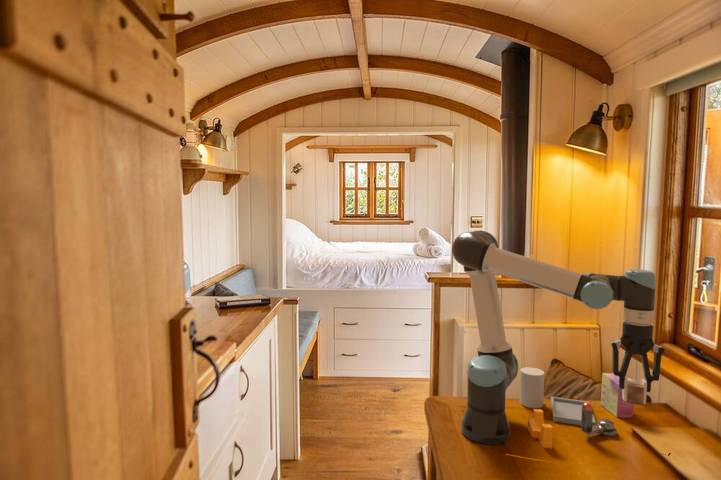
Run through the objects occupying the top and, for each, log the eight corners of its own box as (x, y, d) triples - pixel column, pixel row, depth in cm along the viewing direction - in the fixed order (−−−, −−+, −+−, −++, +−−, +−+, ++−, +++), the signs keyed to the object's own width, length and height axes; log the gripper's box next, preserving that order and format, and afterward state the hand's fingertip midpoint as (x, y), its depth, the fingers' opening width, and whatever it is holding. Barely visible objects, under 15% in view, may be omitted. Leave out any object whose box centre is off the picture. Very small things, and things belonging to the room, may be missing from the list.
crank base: (591, 430, 139) (591, 427, 139) (600, 425, 143) (601, 422, 143) (664, 459, 123) (664, 456, 123) (672, 453, 127) (672, 449, 127)
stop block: (627, 403, 128) (628, 382, 127) (624, 397, 131) (625, 377, 131) (643, 405, 126) (644, 385, 126) (640, 399, 130) (641, 380, 129)
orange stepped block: (527, 427, 142) (527, 408, 141) (541, 428, 141) (541, 409, 141) (536, 447, 130) (537, 426, 129) (552, 448, 129) (552, 427, 129)
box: (633, 418, 148) (635, 384, 147) (616, 418, 148) (618, 384, 148) (616, 404, 159) (617, 372, 158) (600, 404, 159) (601, 372, 158)
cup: (545, 401, 161) (546, 370, 160) (541, 410, 154) (542, 377, 153) (522, 396, 165) (523, 365, 164) (517, 404, 158) (518, 372, 158)
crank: (604, 423, 142) (605, 394, 141) (617, 430, 138) (618, 399, 137) (576, 431, 136) (577, 401, 136) (589, 438, 132) (590, 406, 132)
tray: (553, 421, 146) (553, 416, 146) (550, 401, 161) (550, 396, 161) (595, 427, 141) (595, 422, 141) (588, 406, 157) (588, 401, 157)
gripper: (606, 322, 127) (602, 400, 128) (676, 329, 121) (672, 411, 122) (602, 317, 134) (599, 391, 135) (668, 322, 127) (664, 400, 129)
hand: (633, 400), depth 129 cm, fingers closed on stop block, 4 cm apart
